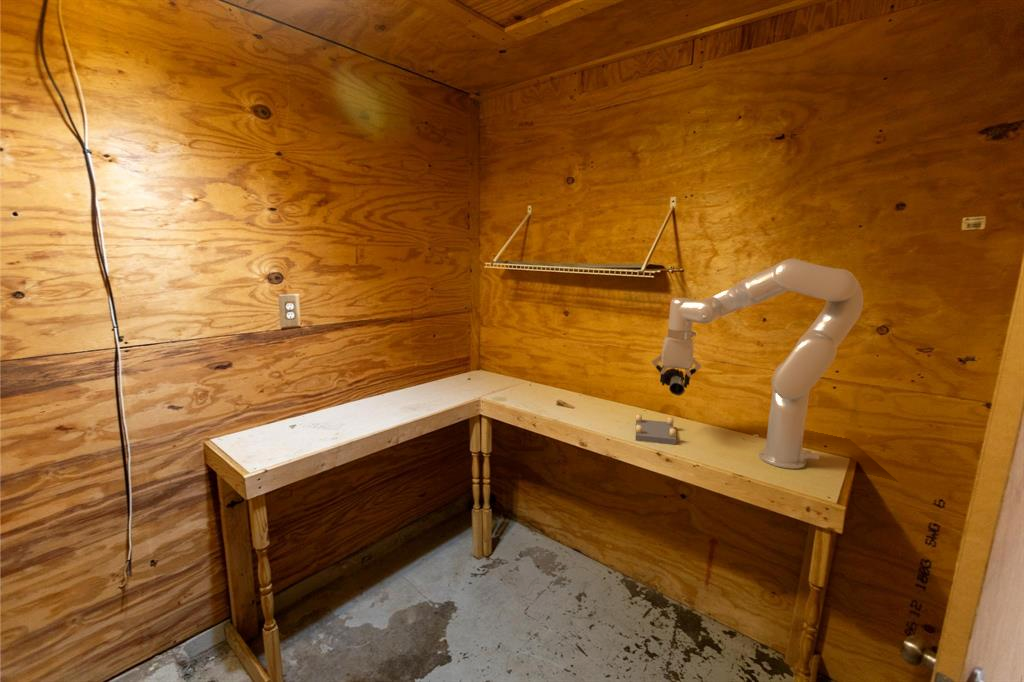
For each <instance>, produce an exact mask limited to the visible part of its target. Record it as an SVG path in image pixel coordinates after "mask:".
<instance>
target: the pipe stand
mask: <svg viewBox="0 0 1024 682" xmlns="http://www.w3.org/2000/svg"><path fill="white" fill-rule="evenodd" d="M635 417H636V418H635V441H636V442H645V443H653V444H664V445H665V444H666V445H674V446H676V444H677V438H676V437H677V428H675V427H674V421H675V420H674V417H673V416H668V417H667V421H662V420H652V419H643V415H642V414H640V413H638V414H636V416H635Z"/></svg>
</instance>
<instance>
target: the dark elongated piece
mask: <svg viewBox="0 0 1024 682" xmlns="http://www.w3.org/2000/svg"><path fill="white" fill-rule="evenodd" d="M684 380H685V375H684V371H682V370H680V368H667V369H666V371H665V385H666V386H669V391H670V393H671V394H672V395H675V396H682V395H684V393H685V392H686V388H685V387H684Z"/></svg>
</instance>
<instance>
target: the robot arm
mask: <svg viewBox="0 0 1024 682" xmlns="http://www.w3.org/2000/svg"><path fill="white" fill-rule="evenodd" d="M789 291H790V292H793V293H797V294H801V295H805V296H808V297H812V298H817V299H820V300H825V301H826V302H825V304H824V307H823V309H822V310H821V312H820V313H819V314H818V316H817V317H816V319H815V320H814V321H813V323H812V324H811V326H809V328H808V329H807V330H806V332H804V334H803V335H802V336H800V338H798V340H797V342H796V345H795V346H794V348H793V349H792V350H791V351H790V352H789V354H788V355H787V357H786V358H785V360H783V362H781V363H780V364H778V365H777V367H776V368H775V370H774V372H773V375H772V377H771V387H772V392H771V401H770V407H769V415H768V425H767V432H766V433H767V434H766V442H765V448H763V449H761V450H759V452H758V456H759V458H760V459H761V460H762V461H763V462H766V463H767V464H770V465H771V466H774V467H779V468H783V469H790V470H791V469H792V470H795V469H797V470H798V469H802V468H804V467H806V464H807V460H809V459H811V460H815V461H816V460H817V461H818V460H820V454H819V453H818V452H817V453H815V452H812V450H809V449H803V442H804V441H803V440H804V434H805V427H806V426H805V425H806V418H807V413H808V406H809V399H810V398H809V397H810V393H811V392H810V391H811V389H812V388H813V387H814V386H815V385H816V383H817V382H818V381H819V379H820V378H821V377H822V376H823V375H824V374H825V372H826V371H827V370H828V369H829V368H830V366H831V365H832V363H833V362H834V360H835V358H836V355H837V349H838V347H839V345H840V344H841V343H842V342H843V340H844V339H846V336H847V335H848V334H849V332H850V331H851V329H852V328H853V327H854V325H855V324H856V323H857V321H858V320H859V318H860V316H861V314H862V311H863V306H864V293H863V289H862V287H861V285H860V283H859V281H858V279H857V278H856V276H855V275H854V274H853V272H850V271H849V270H847V269H845V268H844V269H843V268H835V267H834V268H833V267H830V266H825V265H820V264H815V263H811V262H807V261H803V260H801V259H799V258H788V259H784V260H782V261H781V262H779V263H777V264H775V265H772V266H770V267H768V268H765V269H764V270H761V271H759V272H757V273H755V274H753V275H751V276H747V278H746V277H745V278H744V279H742V280H740V281H739V282H738V283H736V284H734V285H733V286H731V287H729V288H727V289H725V290H723V291H720V292H718V293H717V294H714V295H712V296H709V297H707V298H704V299H701V300H694V299H692V298H688V297H674V298H672V299H671V301H670V307H669V317H668V325H667V326H668V327H667V336H665V337H664V339H663V343H662V347H661V354H660V355H659V356H658V357H656V358H654V359H652V361H651V362H652V364H653V366H654V367H655V368H656V370H658V372H659V373H660V378H659V380H660V381H659V382H660V383H661V386H663V387H664V386H665V385H666V384H665V372H666V370H668V369H671V368H674V369H680V370H681V369H684V370H685V375H684V380H683V383H684V388H685V389H687V388H688V386H690V380H691V377H692V375H693V374H695V373H697V372H698V371H699V370H700V369H701V368H702V364H701V363H700V362H698V360H696V358H694V339H693V337H696V336H697V332H695V331H693V322H694V323H698V324H704V325H705V324H710V323H712V322H714V321H715V320H717V319H719V318H721V317H725V316H726V315H728V314H731V313H733V312H736V311H738V310H741V309H743V308H746V307H751V306H752V307H753V306H756V305H757V304H760V303H763V302H766V301H767V300H770V299H773V298H775V297H777V296H779V295H782V294H784V293H787V292H789ZM659 362H660V363H661V365H660V364H659ZM693 364H694V367H693ZM692 367H693V368H692Z"/></svg>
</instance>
